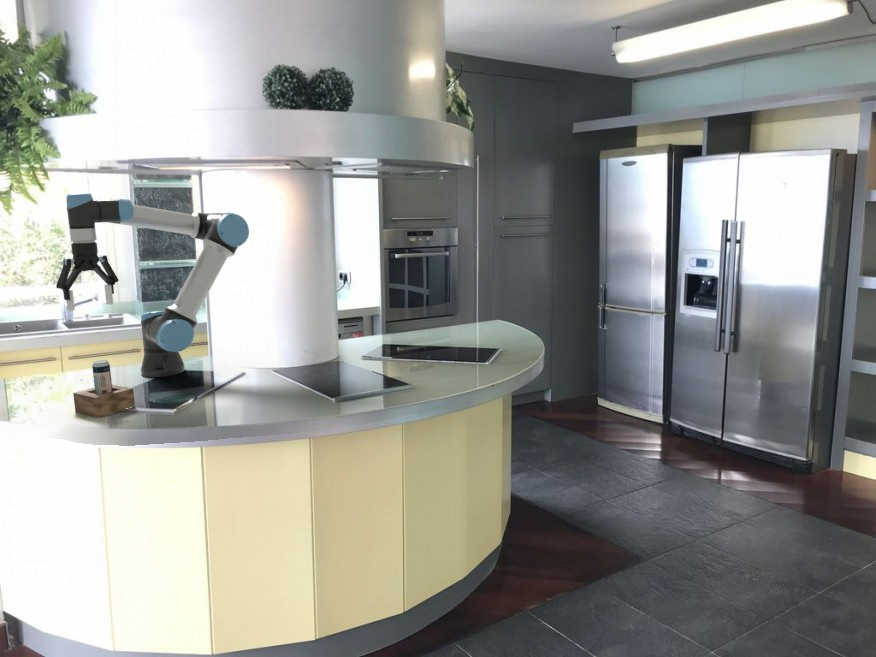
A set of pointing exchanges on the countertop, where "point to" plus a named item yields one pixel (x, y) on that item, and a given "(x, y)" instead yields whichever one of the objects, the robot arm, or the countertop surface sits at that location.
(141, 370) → the robot arm
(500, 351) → the countertop surface
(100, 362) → the beer can
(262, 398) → the countertop surface
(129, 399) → the wooden box
